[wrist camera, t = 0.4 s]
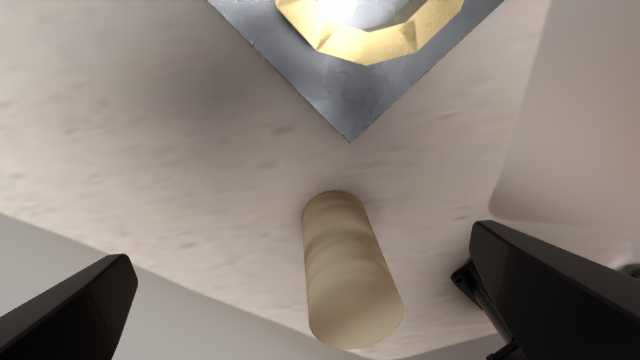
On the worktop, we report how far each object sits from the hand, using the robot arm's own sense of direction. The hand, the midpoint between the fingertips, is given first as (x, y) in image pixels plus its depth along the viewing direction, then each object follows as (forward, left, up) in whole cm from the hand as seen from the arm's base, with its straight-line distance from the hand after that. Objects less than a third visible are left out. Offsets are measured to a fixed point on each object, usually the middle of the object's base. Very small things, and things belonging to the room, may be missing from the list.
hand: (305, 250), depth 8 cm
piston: (-8, +4, -13) cm, 16 cm away
